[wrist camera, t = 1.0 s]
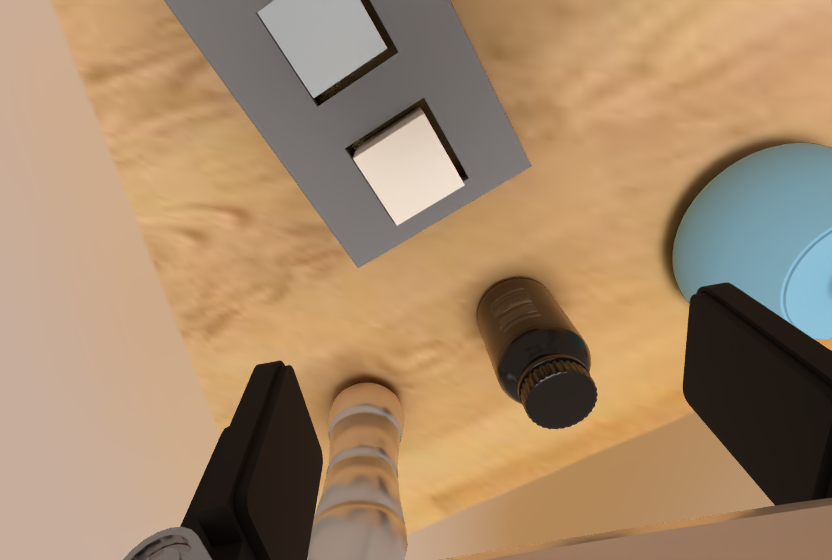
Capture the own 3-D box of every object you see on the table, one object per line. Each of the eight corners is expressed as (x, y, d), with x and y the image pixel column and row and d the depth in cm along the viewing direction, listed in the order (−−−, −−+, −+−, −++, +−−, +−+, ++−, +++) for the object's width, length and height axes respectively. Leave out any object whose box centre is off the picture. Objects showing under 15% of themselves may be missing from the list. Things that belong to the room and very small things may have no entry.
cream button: (419, 106, 32) (424, 113, 28) (455, 170, 34) (464, 185, 30) (357, 146, 33) (352, 158, 29) (395, 206, 35) (397, 225, 31)
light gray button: (342, -31, 29) (334, -45, 25) (387, 49, 30) (387, 48, 27) (274, 18, 29) (257, 12, 25) (322, 93, 31) (313, 98, 27)
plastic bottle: (396, 432, 47) (402, 670, 28) (326, 423, 46) (286, 664, 28) (409, 378, 44) (425, 602, 26) (335, 367, 43) (298, 593, 25)
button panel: (296, -284, 26) (282, -341, 22) (516, 155, 36) (531, 166, 32) (101, -118, 28) (59, -144, 24) (360, 248, 38) (358, 268, 35)
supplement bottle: (471, 343, 43) (500, 440, 32) (481, 273, 40) (516, 354, 29) (546, 346, 43) (599, 442, 32) (561, 277, 41) (625, 358, 30)
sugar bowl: (865, 243, 41) (1030, 307, 30) (703, 340, 44) (802, 428, 34) (808, 96, 35) (985, 112, 25) (629, 219, 39) (719, 279, 28)
